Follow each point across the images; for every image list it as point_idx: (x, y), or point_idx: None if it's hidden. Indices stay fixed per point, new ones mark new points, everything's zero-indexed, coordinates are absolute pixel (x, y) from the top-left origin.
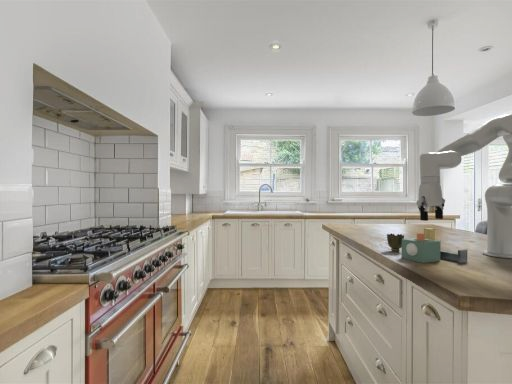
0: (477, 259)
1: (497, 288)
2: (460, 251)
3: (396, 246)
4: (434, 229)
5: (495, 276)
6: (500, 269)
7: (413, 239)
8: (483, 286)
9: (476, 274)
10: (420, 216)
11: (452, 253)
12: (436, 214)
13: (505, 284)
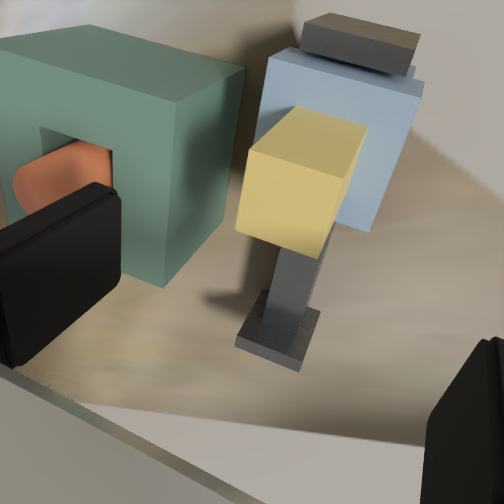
0: (462, 356)
1: (43, 385)
2: (237, 342)
3: None
4: (311, 253)
5: (152, 391)
6: (278, 413)
7: (44, 126)
8: (27, 364)
9: (122, 352)
10: (55, 204)
11: (270, 290)
12: (470, 418)
13: (93, 401)
